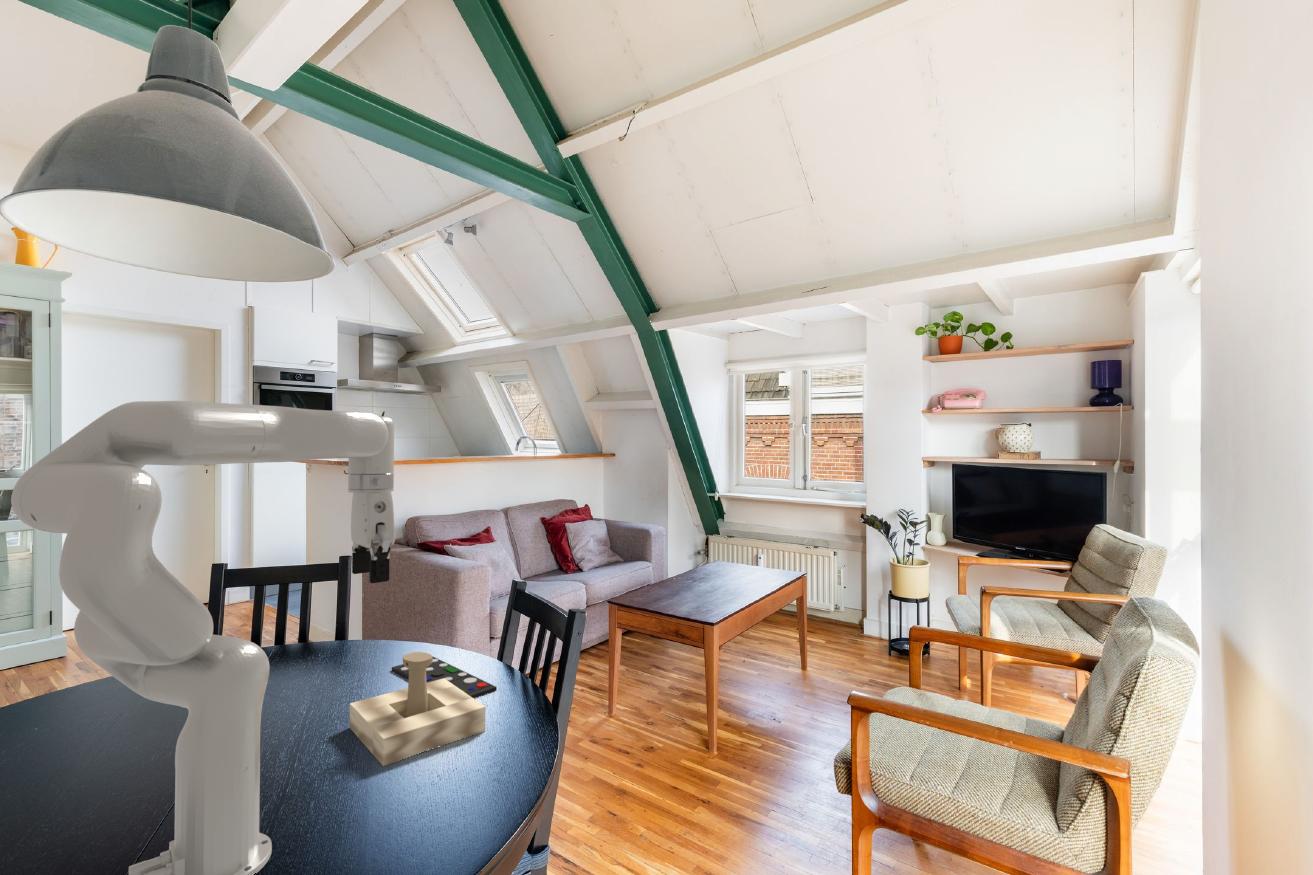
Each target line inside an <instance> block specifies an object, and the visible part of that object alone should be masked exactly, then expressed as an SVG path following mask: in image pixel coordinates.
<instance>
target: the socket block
mask: <svg viewBox="0 0 1313 875" xmlns="http://www.w3.org/2000/svg"><path fill="white" fill-rule="evenodd" d="M407 696H408V687H407V688H403V689H399V690H396V691H392V692H388V693H383V694H380V695H376V696H373V697H369V698H365V699H361V700H357V701H354V702H350V703H349V729H350V730H351V731H352V732H353V733H354V734H355V736H356V737H357V738H358V739H359V740H360V742H361V743H362V744H363V745H364V746H365V747H366V748H367V749H368V751H369V752H370V753H371V754H372V755H373V757H374V758H375V759H376V760H377V761H378V762H379V763H380V765H381V766H383V767H385V766H389V765H392V764H395V763H397V762H400V760H401V761H403V760H402V759H404V760H406V759H408V758H407V757H409V758H412V757H413V756H412V755H415V754H418V753H420V752H424V751H427V750H428V749H432V748H435V749H437V748H436V747H438V746H441V747H443V746H442V745H444V746H446V745H445V744H447V745H449V744H448V743H450V744H452V742H453V741H456V740H459V741H461V739H462V738H464V739H467V738H469V737H472V735H473V736H476V735H479V734H481V733H485V732H486V706H485V705H484V704H482V703H481V702H479V701H478V700H476V698H474V699H473V698H472V697H471V696H469V695H468V694H466V693H465V692H463V691H462V690H460V689H459V688H458V687H456V686H455V685H453V684H452V683H450V682H449V681H447V680H446V679H445V678H443V679H439V680H436V681H432V682H428V683H427V697H428V708H427V712H424V713H421V714H417V715H414V716H411V717H408V716H407ZM466 737H467V738H466ZM462 740H463V739H462ZM456 742H457V741H456ZM453 743H454V742H453ZM438 748H439V747H438ZM427 752H428V751H427ZM424 753H425V752H424ZM418 755H419V754H418ZM411 756H412V757H411ZM415 756H416V755H415ZM405 758H406V759H405Z"/></svg>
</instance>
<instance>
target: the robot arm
mask: <svg viewBox="0 0 1313 875" xmlns="http://www.w3.org/2000/svg"><path fill="white" fill-rule="evenodd" d="M327 459H329V460H331V459H348V469H347V470H348V474H347V475H348V476H347V478H348V479H347V489H348V490H347V492H348V493H352V500H351V511H350V512H351V513H350V539H351V541H352V542H353V543H352V547H351V551H352V553H351V561H352V562H351V573H352V574H354V575H357V574H365V573H369V576H368V578H369V580H368V582H369V583H370V584H377V583H384V582H388V581H389V580H390V561H391V560H390V559H391V553H390V551H391V546H393V545H394V544H395V540H396V538H395V537H396V536H395V534H396V533H395V514H394V502H393V500H394V499H393V495H392V492H394V487H395V485H394V483H395V482H394V480H395V478H394V477H395V476H394V474H395V472H394V470H395V468H394V466H395V464H394V463H395V462H394V460H395V423H394V420H393V419H392V418H390V417H388V416H383V415H382V416H381V415H377V414H374V413H373V412H365V411H362V412H361V411H343V410H326V409H325V410H323V409H310V408H300V407H299V408H298V407H291V406H280V405H279V406H278V405H265V404H264V405H263V404H243V403H242V404H241V403H225V402H212V401H211V402H210V401H208V402H207V401H194V400H193V401H192V400H191V401H190V400H153V401H152V400H149V401H144V400H143V401H132V402H130V401H129V402H125V403H123V404H120V405H119V406H116V407H114V408H111V409H110V410H109V411H106V412H105V413H104V414H102V415H100V416H99V417H98V418H96V419H95V420H93V421H92V422H91V423H89V424H88V425H87V426H85V427H83V428H82V429H81V430H80V431H78V432H77V433H75V434H74V435H73V436H71V437H69V439H68V440H66V441H64V442H63V443H61V444H60V445H59V446H57V448H55V449H54V450H52V451H51V452H49V453H48V454H47V455H45V456H44V457H43V458H41V459H39V460H38V461H36V463H34V465H31V466H30V467H29V468H28V469H27V470H26V471H25V472H24V473H23V474H22V475H21V476H20V477H19V478H18V480H17V481H16V484H14V487H13V489H12V492H11V493H12V494H11V496H10V497H11V499H10V504H11V507H12V510H13V512H14V514H15V516H17V518H18V519H19V520H20V521H21V522H22V523H23V524H25V525H27V526H29V527H30V528H32V529H35V530H39V531H42V532H47V533H53V534H54V533H55V534H66V536H65V539H64V542H63V544H62V545H63V546H62V550H61V554H60V560H59V571H58V572H59V573H58V575H59V576H58V577H59V583H60V584H59V585H60V587H61V590H62V591H63V593H64V595H65V596H66V598H67V599H68V601H70V603H71V604H72V605H74V607H76V608H77V609H78V610H79V612H78V614H77V615H76V618H75V620H74V628H73V634H74V638H75V641H76V644H77V646H78V648H79V649H80V651H81V652H82V653H83V654H84V655H85V656H86V657H87V658H88V659H89V660H90V661H92V662H93V663H94V664H96V665H97V666H98V667H100V668H101V669H102V670H104V671H105V672H106V673H108V674H110V676H112V677H113V678H115V679H116V680H117V681H118V682H120V683H121V684H122V685H124V686H126V687H127V688H128V689H129V690H131V691H133V692H134V693H136V694H137V695H138V696H139V695H140V696H141V697H143V698H145V699H146V700H149V701H152V702H156V703H161V704H164V705H172V706H177V707H181V708H185V709H187V711H188V712H187V713H188V715H187V717H186V718H187V719H186V720H185V723H184V725H183V727H182V729H181V731H180V733H179V735H178V738H177V741H176V746H175V754H174V755H175V756H174V767H175V769H174V770H175V771H174V772H175V775H174V776H175V780H174V783H175V784H174V837H173V838H174V840H173V839H172V840H171V841H169V843H168V844H169V849H168V850H166V851H165V850H164V851H162V852H160V853H159V854H160V855H159V856H156V857H154V858H150V859H148V860H143V861H141V862H137V863H134V864H132V865H129V866H128V875H254V874H255V873H256V874H257V873H259V872H260V871H261V869H263V868H264V867H265V865H266V864H267V863H268V861H270V858H271V855H272V851H273V850H272V848H273V844H272V839H271V838H270V837H269V836H268V835H266V834H264V833H262V832H260V798H261V797H260V791H261V790H260V788H261V786H260V785H261V722H262V721H261V719H262V712H263V711H262V710H263V703H264V697H265V693H266V689H267V686H268V682H269V677H270V661H269V658H268V656H267V653H266V652H265V650H263V649H262V648H261V646H259V645H258V644H256V643H255V642H252V641H250V640H248V639H243V638H239V637H235V636H233V637H232V636H226V635H220V634H214V620H213V616H212V615H211V613H210V610H209V609H208V608H207V607H206V606H205V604H204V603H203V602H202V600H200V599H199V598H198V597H197V596H196V595H194V594H193V593H192V592H191V591H190V590H189V589H188V588H187V587H186V586H185V585H184V584H182V583H181V581H180V580H178V579H177V578H176V577H175V575H173V574H172V573H171V572H170V571H169V570H168V569H167V568H166V567H165V566H164V565H163V563H162V562H161V561H160V560H159V559H158V557H157V556H156V554H155V553H154V552H155V551H154V550H153V535H154V530H155V527H156V524H157V520H159V515H160V512H161V508H162V502H163V501H162V500H163V498H162V497H163V496H162V491H161V487H160V485H159V484H158V482H157V480H156V479H155V478H154V476H152V475H151V474H150V473H148V472H147V471H146V470H144V469H142V468H143V467H145V466H146V465H147V466H149V465H150V466H151V465H153V466H175V467H176V466H186V467H187V466H208V465H209V466H210V465H227V464H228V465H229V464H257V463H258V464H263V463H288V462H289V463H290V462H298V461H299V462H300V461H308V460H310V461H311V460H327ZM376 549H377V550H376ZM256 874H255V875H256Z"/></svg>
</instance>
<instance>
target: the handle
mask: <svg viewBox="0 0 1313 875" xmlns="http://www.w3.org/2000/svg"><path fill="white" fill-rule="evenodd" d="M432 656H433V655H432V654H431V653H427V652H424V651H423V652H422V651H421V652H420V651H415V652H414V651H413V652H409V653H406V654H404V655H403V656H402V663H403V664H404V666H405V667H406V668H408V669H409V680H407V681H408V684H407V688H408V696H407V716H408V717H411V716H414V715H417V714H421V713H424V712H427V708H428V697H427V681H426V667H428V666H429V665H431V664H432V662H433V657H434V656H433V657H432Z"/></svg>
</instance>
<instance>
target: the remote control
mask: <svg viewBox="0 0 1313 875" xmlns="http://www.w3.org/2000/svg"><path fill="white" fill-rule="evenodd" d="M432 657H433V662H432V664H431V665H429V666H428V667H426V681H427V683H428V682H432V681H436V680H439V679H443V678H445V679H446V680H447V681H449V682H450V683H452V684H453V685H455V686H456V687H458V688H459V689H460V690H462V691H463V692H465V693H466V694H468V695H469V696H471V697H472V698H474V699H476V698H475V697H477V698H479V696H480V697H482V696H485V695H488V694H491V693H493V692H496V691H497V686H496V685H493V684H491V683H490V682H488V681H485V680H483V679H481V678H479V677H476V676H475V675H472V674H471V673H469V672H466V671H464V670H463V669H460V668H459V667H456V666H454V665H451V664H450V663H447V662H445V661H443V660H442V659H440V658H437V657H436V656H434V655H432ZM391 672H393V673H395V674H396V675H397V676H400V677H401V678H404V679H405V678H406V679H405V680H407V679H408V680H407V681H409V669H408V668H406V667H405V666H404V664H398V665H395V666H392V667H391ZM487 693H488V694H487ZM481 695H482V696H481Z"/></svg>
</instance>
